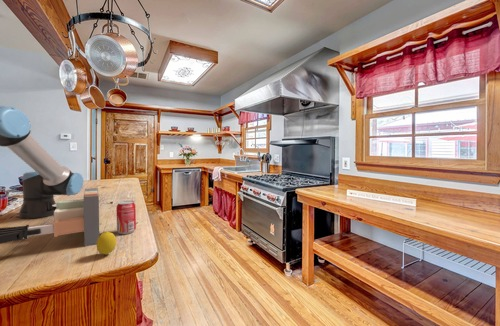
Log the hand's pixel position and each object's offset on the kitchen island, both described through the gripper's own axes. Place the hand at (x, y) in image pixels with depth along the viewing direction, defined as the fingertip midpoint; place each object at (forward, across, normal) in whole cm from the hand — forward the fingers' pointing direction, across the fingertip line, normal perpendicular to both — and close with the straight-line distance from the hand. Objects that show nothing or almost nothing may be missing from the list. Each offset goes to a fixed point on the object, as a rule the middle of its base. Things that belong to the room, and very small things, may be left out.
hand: (53, 228), depth 79 cm
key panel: (+11, -7, -7) cm, 15 cm away
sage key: (+6, -14, +2) cm, 16 cm away
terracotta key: (+7, 0, -2) cm, 7 cm away
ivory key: (+6, -7, 0) cm, 9 cm away
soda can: (+23, -5, -8) cm, 25 cm away
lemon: (+15, +15, -8) cm, 22 cm away
